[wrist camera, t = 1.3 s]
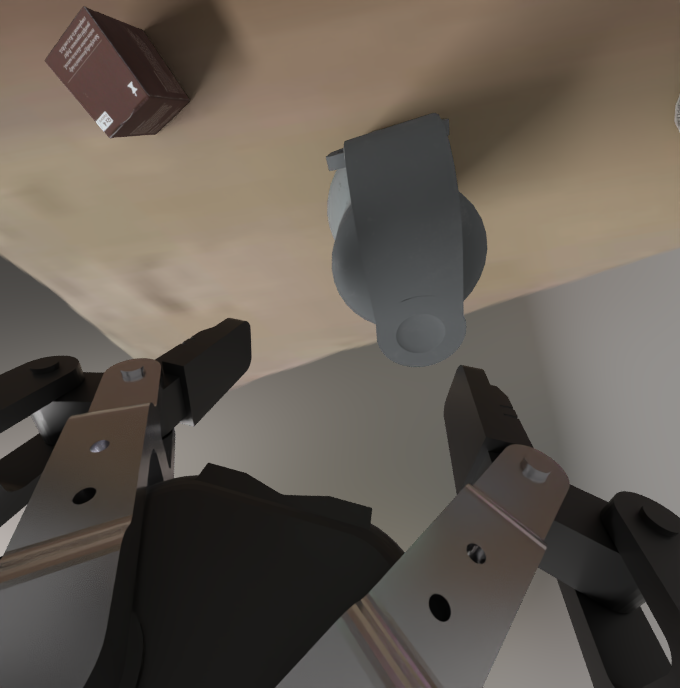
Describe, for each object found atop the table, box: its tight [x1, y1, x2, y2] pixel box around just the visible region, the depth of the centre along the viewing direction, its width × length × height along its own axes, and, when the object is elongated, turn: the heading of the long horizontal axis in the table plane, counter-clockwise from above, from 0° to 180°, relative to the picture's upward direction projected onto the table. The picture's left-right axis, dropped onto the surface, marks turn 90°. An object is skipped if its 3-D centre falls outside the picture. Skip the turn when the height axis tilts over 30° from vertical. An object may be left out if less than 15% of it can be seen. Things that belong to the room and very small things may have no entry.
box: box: [45, 6, 190, 138], centre depth 26 cm, size 6×6×7 cm
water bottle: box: [326, 113, 487, 367], centre depth 22 cm, size 10×10×28 cm
